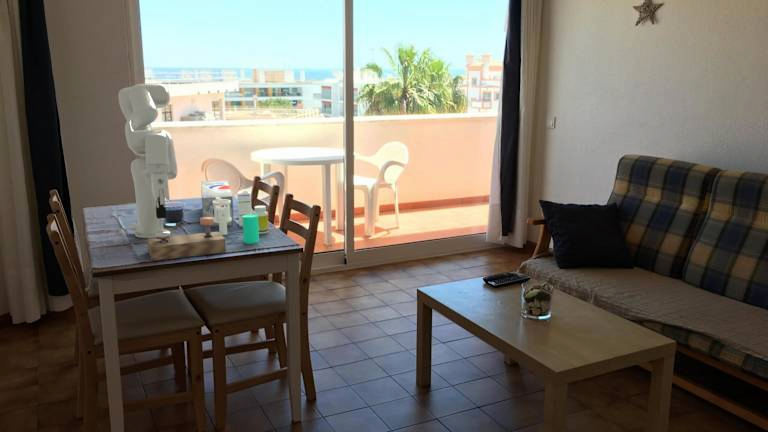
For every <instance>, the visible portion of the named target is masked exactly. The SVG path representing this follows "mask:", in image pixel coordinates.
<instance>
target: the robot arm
mask: <svg viewBox="0 0 768 432" xmlns="http://www.w3.org/2000/svg"><path fill="white" fill-rule="evenodd" d="M170 97H171V96H170V91H169V89H168V87H167V86H166V85H165V84H163V83H137V84H135V85H133V86H129V87H124V88H122V89H121V90H119V91H118V97H117V98H118V104H119V107H120V110H121V112H122V114H123V116H124V118H125V120H126V122H125V124H124V125H125V127H124V134H125V135H124V136H125V138H126V143H127V147H128V148H129V150H131V151H132V152H133V154H135V155H136V156H143V157H138V158H136V159H133V160H132V161H131V163H130V172H131V175H132V180H133V186H134V191H135V192H134V193H135V202H136V203H135V204H136V213H137V214H136V215H137V223H131V225H130V229H131V230H135V232H134V236H135V237H136V238H139V239H152V238H156V232H157V231H163V230H167V228H164V221H163V219H166V218H167V209H166V200H167V201H170V189H169V181H170V180H174V179H176V178H177V176H178V164H177V158H176V157H177V156H176V151H175V146H174V140H173V137H172V135H171V133H169V132H168V131H166V130H164V129H152V123H153V122H155V121H156V119H157V118H158V116H159V113H158V109H163V108H165V107H167V106H168V105H169V103H170V99H171V98H170ZM144 156H145V157H144Z"/></svg>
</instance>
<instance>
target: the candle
mask: <svg viewBox="0 0 768 432" xmlns="http://www.w3.org/2000/svg"><path fill="white" fill-rule="evenodd" d="M242 219H243V226H242V233H243V235H242V236H243V237H242V240H243V243H244V244H248V245H249V244H250V245H251V244H258V243H259V242H260V234H259V227H258V216H257V215H253V213H252V214H247V215H244V216H243V217H242Z"/></svg>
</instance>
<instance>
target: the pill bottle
mask: <svg viewBox="0 0 768 432" xmlns="http://www.w3.org/2000/svg"><path fill="white" fill-rule="evenodd" d="M253 208H254V209H253V210H254V211H253V212H252V215H257V216H258V227H259V235H264V234H265V235H266V234H268V233H269V232H270V230H269V229H270V228H269V212H268V211H267V206H266V205H255V206H254V207H253Z"/></svg>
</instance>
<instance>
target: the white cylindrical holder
mask: <svg viewBox="0 0 768 432" xmlns="http://www.w3.org/2000/svg"><path fill="white" fill-rule="evenodd" d="M219 202H223V203H219ZM230 204H231V200H227V199H222V198H219V197H216V198H215V200H214V201H213V205H214V216H215V218H214V222H215V223H219V227H218V228H219V229H218V230H219V233H220V234H221V235H222V236H226V235H228V226H227V222H231V221H232V218H231V217H230ZM222 205H227V207H226V206H224V207H222Z"/></svg>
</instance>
